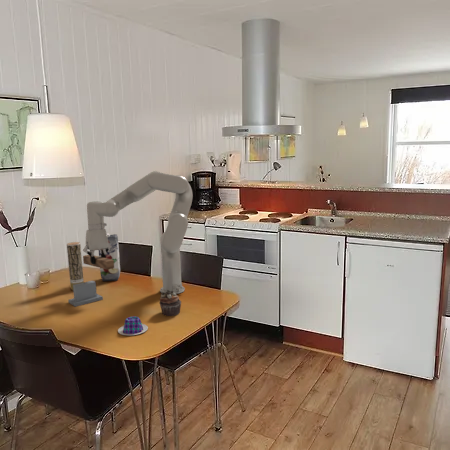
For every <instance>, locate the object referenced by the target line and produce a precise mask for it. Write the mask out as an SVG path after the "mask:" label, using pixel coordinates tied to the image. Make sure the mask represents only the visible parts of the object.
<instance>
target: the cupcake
mask: <svg viewBox="0 0 450 450" xmlns="http://www.w3.org/2000/svg"><path fill="white" fill-rule="evenodd" d="M181 305H182V301H181V300H180V296H178V295H177V294H175V293H174V292H173V291H169V290H167V292H165V293H161V294H160V298H159V307H160V310H161V313H162V315H163V316H165V315H166V316H167V317H172V316H177V315H179V314H180V312H181Z"/></svg>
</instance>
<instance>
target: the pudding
mask: <svg viewBox="0 0 450 450" xmlns="http://www.w3.org/2000/svg"><path fill="white" fill-rule="evenodd" d="M148 328H149V327H148V325H146V324H145V323H142V321H141V319H140V318H139V316H135V315H133V316H129V317H127V318H125V320H124V325H122V326H121V327H119V328H118V329H117V332H118V334H120V335H122V336H135V335H140V334H143V333H146V331H148Z"/></svg>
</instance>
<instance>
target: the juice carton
mask: <svg viewBox="0 0 450 450" xmlns="http://www.w3.org/2000/svg"><path fill="white" fill-rule="evenodd" d="M106 233H107V238H108V243H109V244H110V245H111V246H112V247H111V248H110V249H109V250H108V252H107V254H106V258H108V259H112V260H114V268H112V269H108V270H107V269H103V268H99V271H100V272H99V274H100V277H101V280H102V282H112V281H113V282H116V281H119V278H120V274H121V265H120V264H121V263H120V261H121V260H120V248H119V237H118V234H115V233H114V234H110V233H108V232H106ZM101 254H102V251H101V249H100V250H98V256H99V257H101Z"/></svg>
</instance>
